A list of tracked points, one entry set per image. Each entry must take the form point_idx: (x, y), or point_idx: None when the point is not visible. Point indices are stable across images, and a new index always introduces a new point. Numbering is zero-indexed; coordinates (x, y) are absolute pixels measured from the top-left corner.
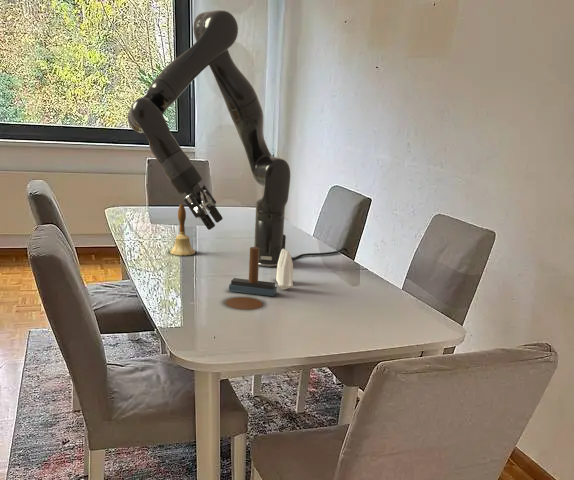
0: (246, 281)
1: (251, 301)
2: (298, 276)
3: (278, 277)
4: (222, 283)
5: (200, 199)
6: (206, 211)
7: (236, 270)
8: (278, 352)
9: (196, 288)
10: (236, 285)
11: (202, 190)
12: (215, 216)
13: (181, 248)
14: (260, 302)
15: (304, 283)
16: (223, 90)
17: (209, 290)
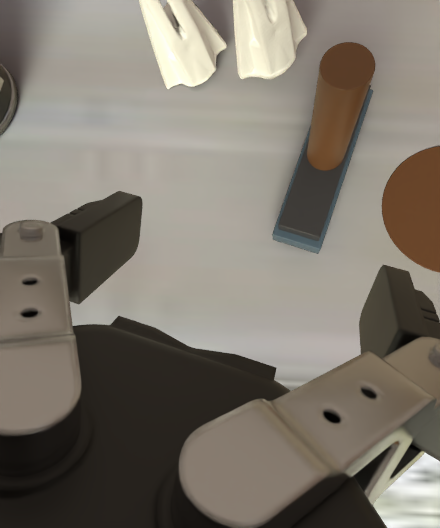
0: (325, 178)
1: (428, 181)
2: (122, 17)
3: (199, 70)
4: (213, 273)
5: (367, 463)
6: (435, 346)
7: (51, 215)
8: None
9: (283, 376)
10: (325, 221)
11: (46, 430)
12: (116, 248)
13: None
14: (436, 151)
15: (201, 3)
16: None
17: (305, 326)
